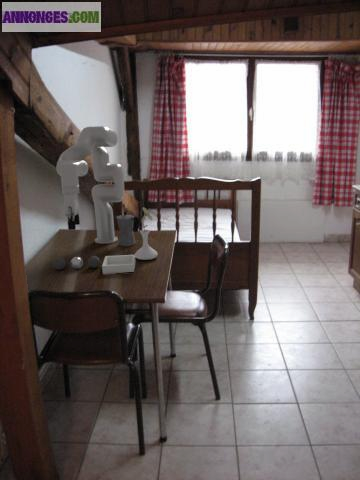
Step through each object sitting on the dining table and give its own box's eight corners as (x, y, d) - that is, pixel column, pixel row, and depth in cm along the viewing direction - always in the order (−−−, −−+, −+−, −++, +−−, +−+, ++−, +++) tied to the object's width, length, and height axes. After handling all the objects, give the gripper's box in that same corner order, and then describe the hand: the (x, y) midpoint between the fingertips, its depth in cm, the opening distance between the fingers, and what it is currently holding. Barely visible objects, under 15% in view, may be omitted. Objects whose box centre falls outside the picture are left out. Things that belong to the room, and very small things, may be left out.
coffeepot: (112, 245, 256) (109, 212, 251) (122, 240, 264) (119, 208, 259) (136, 248, 249) (134, 214, 244) (145, 243, 257) (143, 210, 252)
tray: (106, 264, 227) (105, 256, 226) (135, 262, 227) (134, 254, 226) (102, 274, 214) (102, 266, 212) (134, 272, 214) (133, 264, 213)
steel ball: (72, 266, 225) (71, 255, 224) (84, 266, 225) (83, 255, 224) (70, 270, 220) (69, 259, 218) (82, 270, 220) (81, 258, 219)
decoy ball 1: (55, 267, 225) (54, 256, 224) (67, 266, 225) (66, 255, 224) (53, 271, 220) (51, 260, 218) (65, 270, 220) (63, 259, 218)
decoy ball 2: (89, 265, 226) (88, 254, 224) (101, 265, 226) (100, 254, 224) (87, 269, 220) (86, 258, 219) (99, 269, 220) (98, 257, 219)
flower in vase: (157, 261, 228) (154, 210, 221) (133, 262, 228) (130, 211, 221) (158, 252, 240) (156, 204, 233) (136, 253, 240) (132, 205, 233)
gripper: (66, 187, 221) (69, 222, 226) (58, 193, 205) (61, 231, 209) (82, 186, 221) (85, 222, 226) (75, 192, 205) (78, 231, 209)
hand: (74, 226), depth 218 cm, fingers open, 9 cm apart
